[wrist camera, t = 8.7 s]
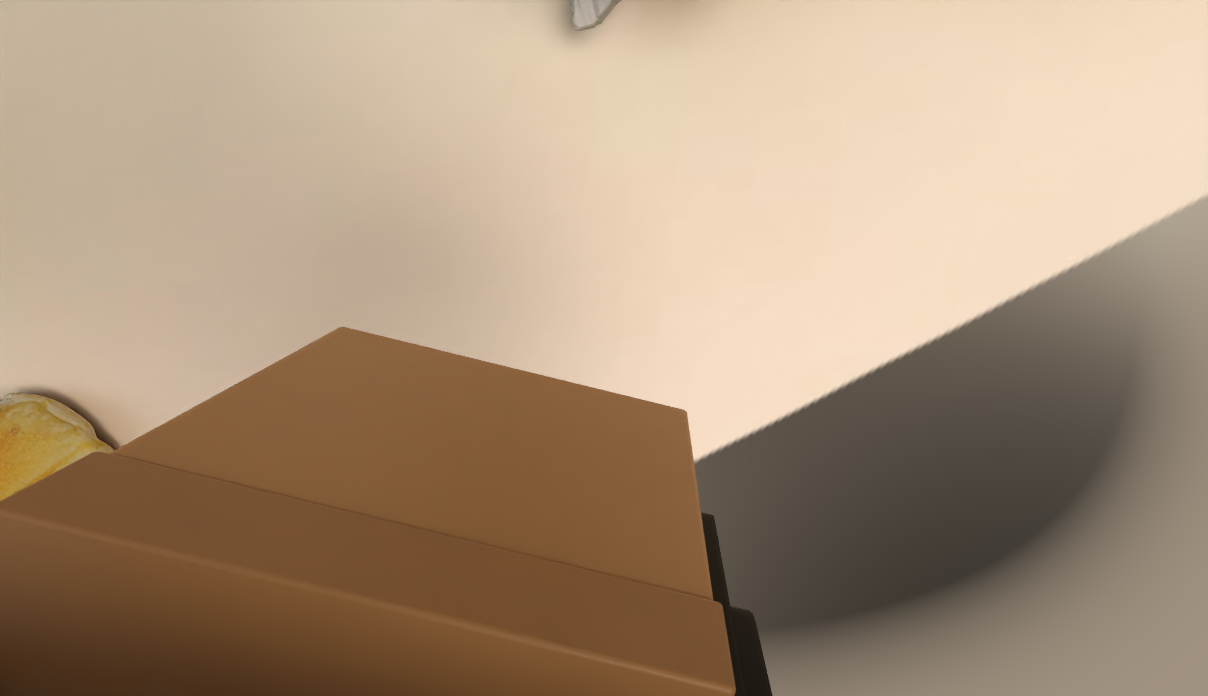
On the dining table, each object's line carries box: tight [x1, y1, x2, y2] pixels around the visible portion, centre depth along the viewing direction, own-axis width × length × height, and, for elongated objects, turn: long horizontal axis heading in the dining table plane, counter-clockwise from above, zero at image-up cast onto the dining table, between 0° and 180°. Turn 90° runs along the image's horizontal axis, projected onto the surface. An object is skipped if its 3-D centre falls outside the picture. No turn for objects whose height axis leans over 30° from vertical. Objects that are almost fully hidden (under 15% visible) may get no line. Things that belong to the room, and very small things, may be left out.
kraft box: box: [0, 327, 736, 696], centre depth 8 cm, size 6×6×6 cm
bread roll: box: [0, 393, 114, 501], centre depth 30 cm, size 8×9×4 cm
